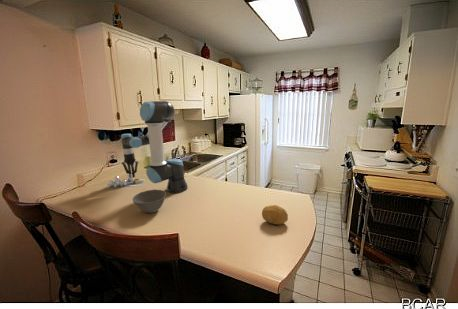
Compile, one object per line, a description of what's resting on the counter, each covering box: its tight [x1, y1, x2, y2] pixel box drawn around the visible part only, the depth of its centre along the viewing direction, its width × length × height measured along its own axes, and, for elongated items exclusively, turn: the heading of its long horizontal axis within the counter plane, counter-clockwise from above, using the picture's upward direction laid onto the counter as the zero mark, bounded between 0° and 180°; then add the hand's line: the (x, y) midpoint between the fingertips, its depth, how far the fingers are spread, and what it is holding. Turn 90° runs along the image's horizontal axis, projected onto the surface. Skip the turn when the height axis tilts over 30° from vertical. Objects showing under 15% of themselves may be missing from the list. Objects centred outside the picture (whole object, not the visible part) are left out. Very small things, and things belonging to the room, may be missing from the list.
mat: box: [105, 179, 146, 189], centre depth 177 cm, size 27×15×1 cm, turn 96°
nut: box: [133, 178, 141, 184], centre depth 177 cm, size 4×5×3 cm
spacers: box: [108, 174, 131, 189], centre depth 176 cm, size 13×14×5 cm
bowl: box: [132, 189, 167, 214], centre depth 130 cm, size 19×19×10 cm
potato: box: [261, 204, 289, 226], centre depth 112 cm, size 10×13×9 cm
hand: (133, 181), depth 177 cm, fingers closed
